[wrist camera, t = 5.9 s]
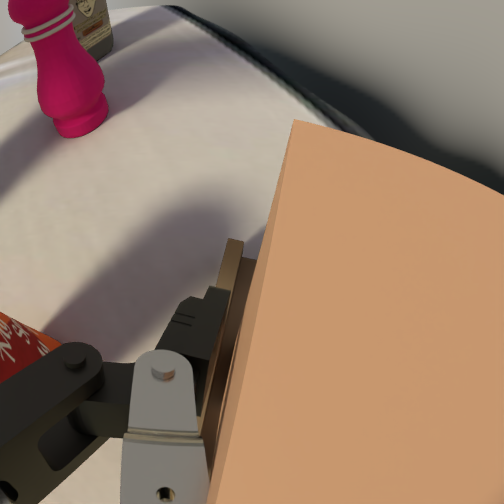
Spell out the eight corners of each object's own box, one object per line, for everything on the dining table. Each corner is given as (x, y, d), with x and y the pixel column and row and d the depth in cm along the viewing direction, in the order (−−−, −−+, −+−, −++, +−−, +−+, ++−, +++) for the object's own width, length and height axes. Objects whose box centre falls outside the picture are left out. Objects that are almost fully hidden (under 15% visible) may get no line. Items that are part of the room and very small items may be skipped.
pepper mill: (68, 101, 28) (23, -39, 10) (121, 94, 29) (89, -64, 11) (45, 145, 26) (-25, -9, 7) (101, 139, 26) (44, -46, 8)
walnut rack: (368, 494, 16) (390, 507, 13) (175, 474, 16) (166, 491, 13) (400, 295, 22) (423, 281, 19) (225, 258, 22) (225, 237, 19)
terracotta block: (268, 413, 17) (497, 553, 1) (221, 404, 17) (191, 603, 1) (280, 354, 19) (527, 209, 2) (234, 345, 19) (293, 118, 2)
